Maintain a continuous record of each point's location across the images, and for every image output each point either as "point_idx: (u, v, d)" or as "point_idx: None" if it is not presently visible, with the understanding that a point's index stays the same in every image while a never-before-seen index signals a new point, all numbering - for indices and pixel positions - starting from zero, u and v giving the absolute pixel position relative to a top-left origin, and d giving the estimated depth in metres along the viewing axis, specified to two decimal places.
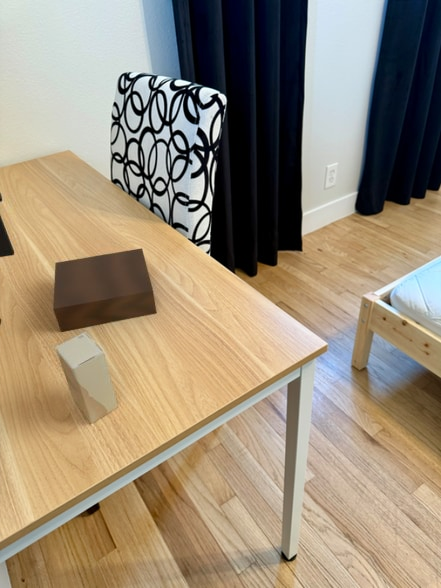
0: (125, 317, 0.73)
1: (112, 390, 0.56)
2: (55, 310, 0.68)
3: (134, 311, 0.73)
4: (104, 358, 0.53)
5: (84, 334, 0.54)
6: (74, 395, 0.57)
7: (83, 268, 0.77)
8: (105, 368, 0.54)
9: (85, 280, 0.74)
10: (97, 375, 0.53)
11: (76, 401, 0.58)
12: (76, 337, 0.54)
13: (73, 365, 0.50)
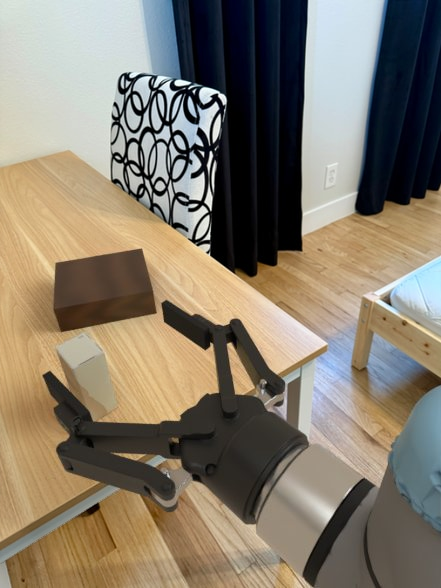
0: (125, 317, 0.73)
1: (112, 390, 0.56)
2: (55, 310, 0.68)
3: (134, 311, 0.73)
4: (104, 358, 0.53)
5: (84, 334, 0.54)
6: (74, 395, 0.57)
7: (83, 268, 0.77)
8: (105, 368, 0.54)
9: (85, 280, 0.74)
10: (97, 376, 0.53)
11: None
12: (76, 337, 0.54)
13: (73, 365, 0.50)
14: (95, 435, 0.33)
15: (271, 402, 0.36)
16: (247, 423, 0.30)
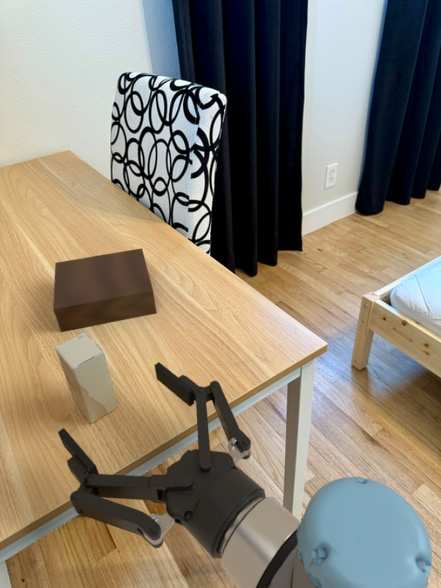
0: (125, 317, 0.73)
1: (112, 390, 0.56)
2: (55, 310, 0.68)
3: (134, 311, 0.73)
4: (104, 358, 0.53)
5: (84, 334, 0.54)
6: (74, 395, 0.57)
7: (83, 268, 0.77)
8: (105, 368, 0.54)
9: (85, 280, 0.74)
10: (97, 376, 0.53)
11: (76, 401, 0.58)
12: (76, 337, 0.54)
13: (73, 365, 0.50)
14: (100, 486, 0.43)
15: (239, 457, 0.46)
16: (216, 481, 0.40)
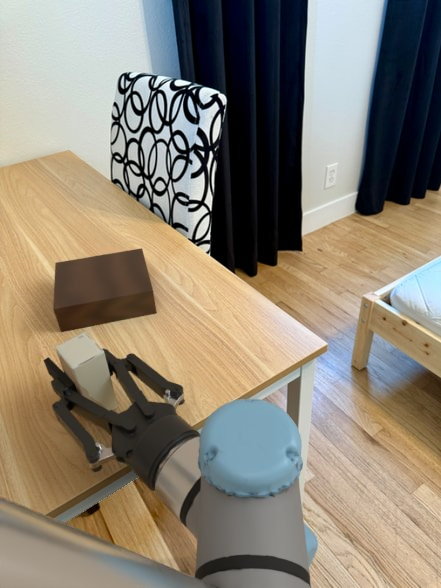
0: (125, 317, 0.73)
1: (112, 390, 0.56)
2: (55, 310, 0.68)
3: (134, 311, 0.73)
4: (104, 358, 0.53)
5: (84, 334, 0.54)
6: None
7: (83, 268, 0.77)
8: (105, 368, 0.54)
9: (85, 280, 0.74)
10: (97, 376, 0.53)
11: None
12: (76, 337, 0.54)
13: (73, 365, 0.50)
14: (72, 401, 0.51)
15: (177, 403, 0.52)
16: (154, 422, 0.45)
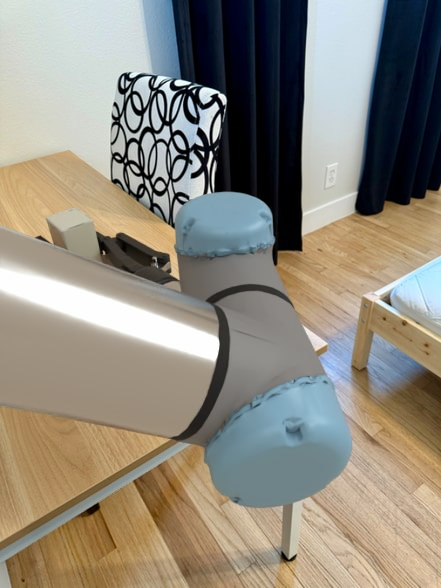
0: None
1: None
2: None
3: None
4: (93, 228, 0.54)
5: (74, 208, 0.56)
6: None
7: None
8: (94, 240, 0.55)
9: None
10: (87, 246, 0.55)
11: None
12: (66, 210, 0.55)
13: (62, 229, 0.52)
14: None
15: (164, 269, 0.53)
16: (139, 270, 0.47)
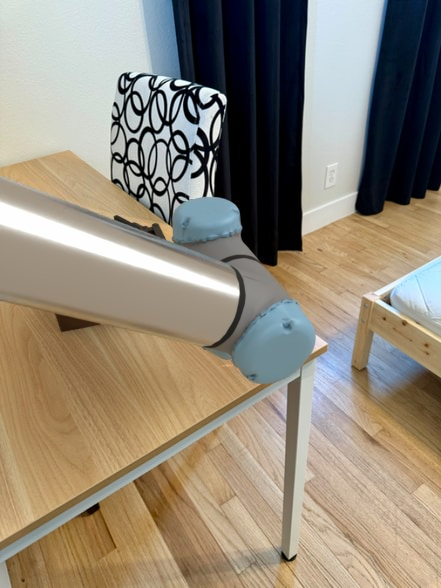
0: None
1: None
2: None
3: None
4: None
5: None
6: None
7: None
8: None
9: None
10: None
11: None
12: None
13: None
14: None
15: None
16: None
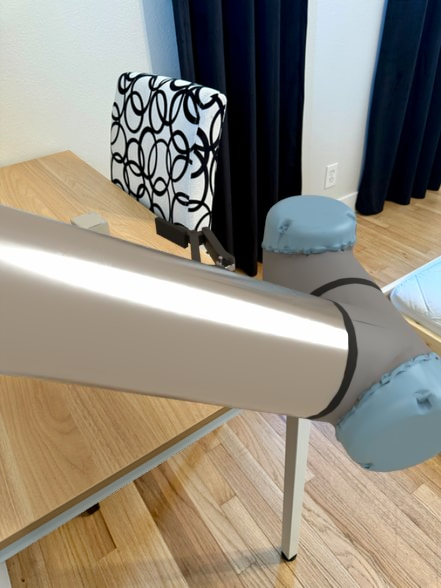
0: None
1: None
2: None
3: None
4: (108, 227, 0.69)
5: (92, 212, 0.70)
6: None
7: None
8: None
9: None
10: None
11: None
12: (86, 213, 0.70)
13: None
14: None
15: None
16: None
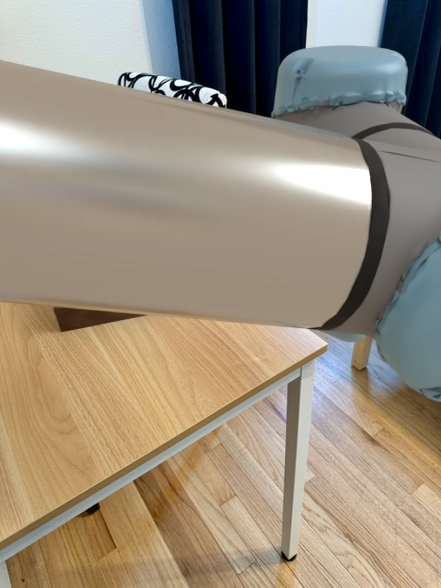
0: (125, 317, 0.73)
1: None
2: (55, 310, 0.68)
3: None
4: None
5: None
6: None
7: None
8: None
9: None
10: None
11: None
12: None
13: None
14: None
15: None
16: None
